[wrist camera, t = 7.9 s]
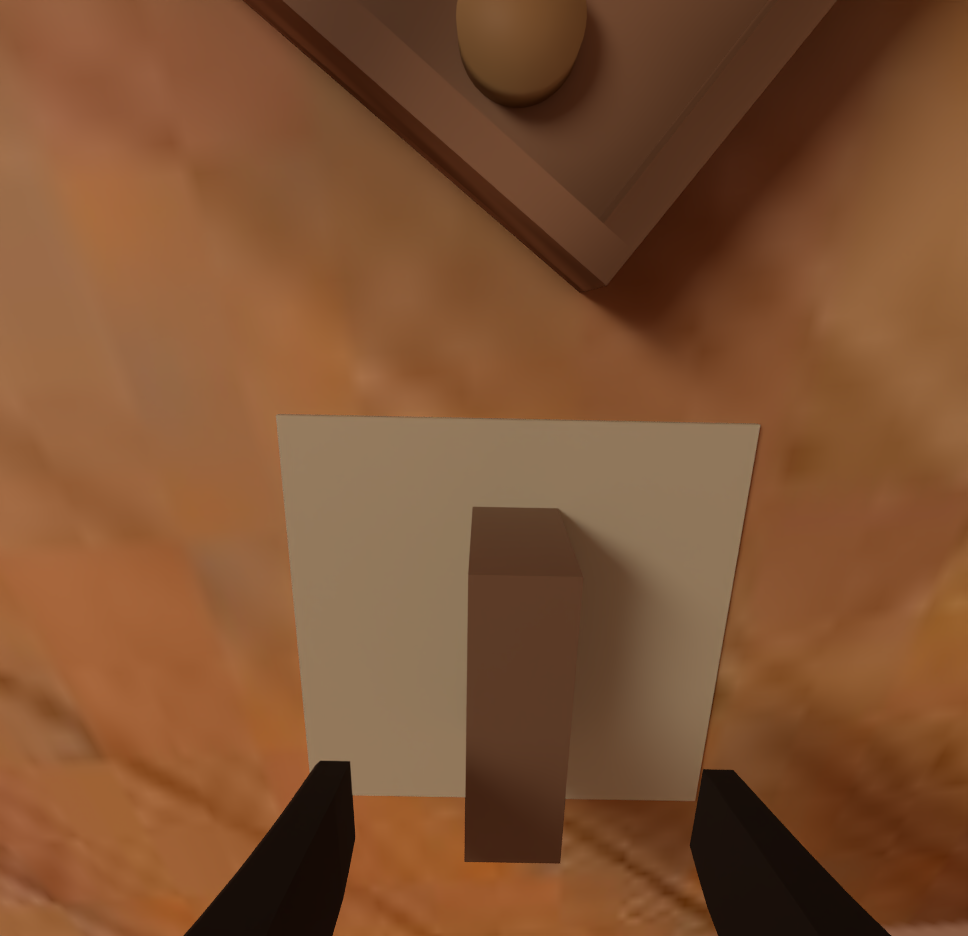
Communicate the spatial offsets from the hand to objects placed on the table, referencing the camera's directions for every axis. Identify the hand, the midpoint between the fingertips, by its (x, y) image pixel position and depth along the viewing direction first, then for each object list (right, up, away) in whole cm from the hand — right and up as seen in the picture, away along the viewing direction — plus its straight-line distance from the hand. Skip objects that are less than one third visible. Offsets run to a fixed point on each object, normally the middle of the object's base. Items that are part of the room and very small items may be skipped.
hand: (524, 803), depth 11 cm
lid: (0, +2, +6) cm, 6 cm away
